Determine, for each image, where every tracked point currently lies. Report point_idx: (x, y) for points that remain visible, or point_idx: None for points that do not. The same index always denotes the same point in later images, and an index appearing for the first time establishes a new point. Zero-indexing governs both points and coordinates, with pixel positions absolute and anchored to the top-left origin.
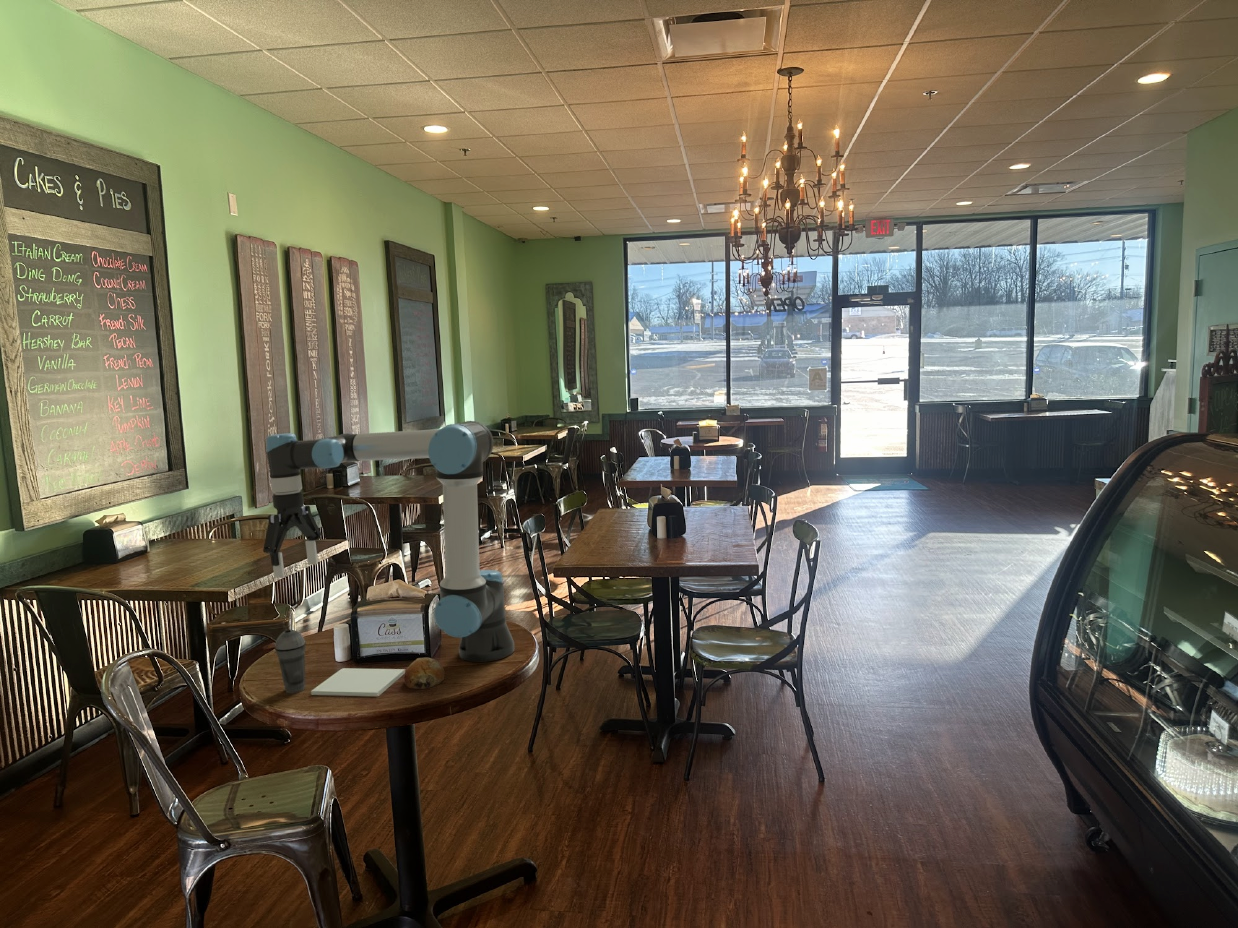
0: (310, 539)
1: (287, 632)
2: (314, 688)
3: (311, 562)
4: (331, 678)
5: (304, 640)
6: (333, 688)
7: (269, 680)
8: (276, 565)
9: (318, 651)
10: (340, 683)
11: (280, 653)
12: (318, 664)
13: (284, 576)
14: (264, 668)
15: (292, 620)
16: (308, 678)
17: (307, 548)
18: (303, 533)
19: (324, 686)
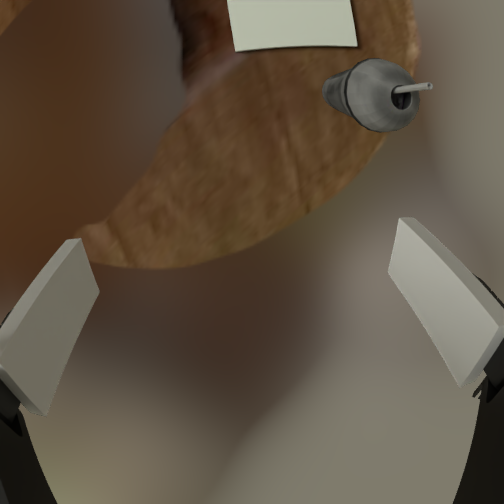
0: (8, 398)
1: (379, 114)
2: (345, 45)
3: (87, 276)
4: (293, 39)
5: (364, 63)
6: (338, 10)
7: (305, 177)
8: (474, 275)
9: (144, 194)
10: (313, 8)
11: (406, 102)
12: (207, 136)
13: (403, 219)
14: (251, 233)
15: (415, 84)
16: (283, 102)
17: (59, 360)
18: (43, 482)
19: (333, 31)
